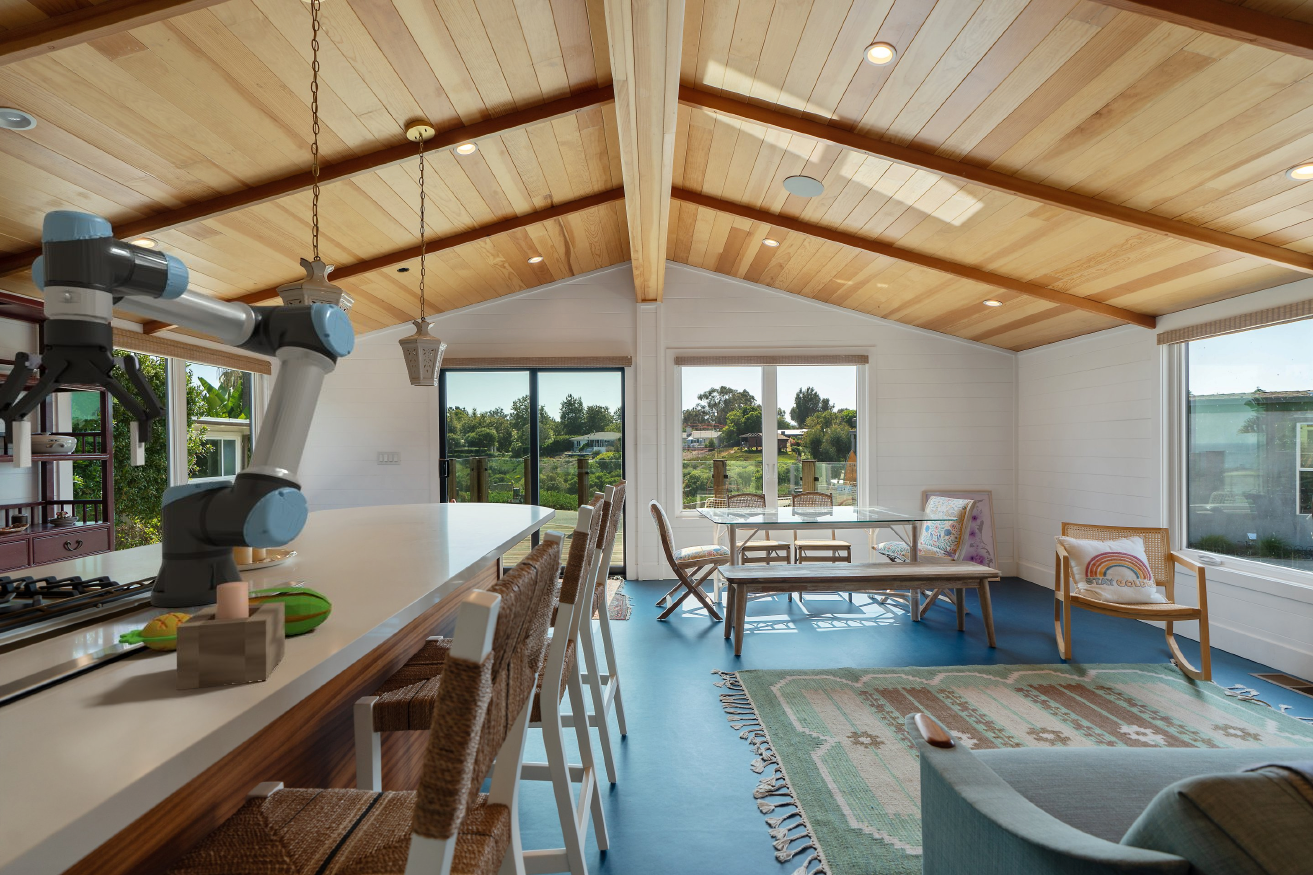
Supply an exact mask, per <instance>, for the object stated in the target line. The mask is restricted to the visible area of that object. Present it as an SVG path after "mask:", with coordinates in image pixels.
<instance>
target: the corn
mask: <svg viewBox="0 0 1313 875" xmlns="http://www.w3.org/2000/svg"><path fill="white" fill-rule="evenodd" d="M265 593H266V594H267V593H280V594H267V595H258V596H252V597H248V604H261V603H276V602H285V636H286V635H288V636H296V635H295V634H298V635H302V634H301V633H303V634H304V633H306V632H307V633H308V632H309V631H311V630H314V629H315V628H318V627H319V626H320V625H322V624H323V623H324V622H325V621H326V620H328V618H329V616H330V615H331V612H332V607H333V606H332V603H331V602H330V600H329V599H328V598H327V597H326V596H325V595H323V594H321V593H319V592H317V591H315V590H313V589H312V588H308V587H297V586H286V587H275V588H265V589H259V590H252V591H248V595H250V594H265ZM213 607H217V605H214V606H213Z"/></svg>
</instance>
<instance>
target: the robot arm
mask: <svg viewBox="0 0 1313 875" xmlns="http://www.w3.org/2000/svg"><path fill="white" fill-rule="evenodd" d="M41 234H42V237H41V240H40V242H41V243H42V246H41V247H42V249H41V250H42V254H41V255H39V256H38V257H36V259H34V261H33V263H32V264H31V268H30V270H31V271H30V272H31V273H30V274H31V278H32V281H33V283H34V284H35V286H36V287H37V289H38V290H39V291H41V293H43V315H45V317H48V319H46V320H45V321H44V322H43V332H44V333H43V334H44V335H43V337H44V338H43V342H44V348H45V349H44V352H43V354H34V353H30V352H25V351H18V352H16V353H15V355H14V363H13V368H12V369H11V370H10V372H9V374H8V376H7V377H6V378H5V380H4V382H3V384H2V385H1V387H0V420H2V421H3V422H4V441H5V442H6V443H5V444H7V445H12V456H13V458H12V461H13V466H12V468H13V469H16V468H17V469H19V468H21V469H22V468H31V467H32V437H31V436H32V435H31V434H32V433H31V428H32V427H31V421H26V419H25V418H26V417H27V416H28V415H29V414H30V413H31V412H33V410H34V409H36V408H37V407H38V406H39V405H40V404H41V403H42V402H43V401H44V400H45V399H46V398H47V397H49V396H50V395H51V394H52V393H53V392H54V391H55V390H56V389H58V388H60V387H61V386H62V385H67V386H69V385H70V386H79V385H87V386H97V385H99V386H100V387H102V388H104V389H105V390H106V391H107V392H108V393H109V395H111V396H112V397H113V398H114V399H115V400H116V401H118V403H120V404H121V405H122V406H123V407H124V409H126V411H128V412H129V413H130V414H131V415H132V416H133V417H134V418H135V420H136V421H129V423H130V425H129V428H130V430H129V431H130V466H134V467H135V466H142V465H143V466H145V463H146V462H145V443H146V444H147V443H149V444H150V443H151V441H152V438H153V437H152V435H153V432H152V424H153V421H154V420H157V419H160V418H164V417H166V416H167V414H168V413H167V411H166V409H165V407H164V406H163V404H162V403H161V401H160V399H159V397H158V396H157V394H156V393H155V391H154V389H153V388H152V385H151V384H150V383H149V381H148V380H147V378H146V377H145V374H144V373H143V371H142V366H141V359H140V357H138V356H135V355H131V354H125V355H124V356H117V357H116V356H115V355H114V354H115V353H114V327H113V326H112V325H111V324H109V323H111V322H112V321H113V320H114V313H113V312H114V311H113V310H114V309H116V310H120V311H123V312H126V313H127V312H128V313H130V314H134V315H138V316H140V317H144V318H147V319H148V318H149V319H150V320H151V319H152V320H155V321H159V322H162V323H165V324H170V325H172V326H177V327H180V328H183V329H187V330H191V331H193V332H199V333H201V334H205V335H209V336H212V337H216V338H217V339H218V340H219V341H220V342H221V343H222V344H224V345H227V346H230V347H234V348H238V349H241V350H243V351H244V350H245V351H248V352H252V353H254V354H259V355H263V356H267V357H271V358H273V357H274V358H276V359H278V361H279V362H280V366H279V369H278V371H277V372H278V373H277V376H276V379H275V380H274V383H273V384H274V385H273V388H272V390H271V394H270V398H269V400H268V404H267V407H266V410H265V414H264V415H263V416H264V417H263V419H262V422H261V425H260V428H259V432H258V435H257V437H256V438H257V439H256V441H255V445H254V448H253V451H252V453H251V458H250V460H249V463H248V467H246V468H245V469H243V470H241V471H238V472H237V473H236V476H235V478H234V481H232V480H229V479H226V480H224V479H223V480H216V481H214V480H213V481H205V482H196V483H186V484H180V485H174V486H169V487H167V488H166V489H165V490H164V491H163V492H162V499H161V500H162V501H161V506H160V515H161V516H160V519H161V521H160V523H161V524H160V525H161V527H160V529H161V557H162V558H161V566H160V567H159V570H158V572H157V575H156V578H155V580H154V583H153V586H152V588H151V590H150V591H151V592H150V604H151V605H152V606H154V607H160V608H183V607H193V606H194V607H195V606H202V605H208V604H215V603H217V586H218V585H221V584H225V583H231V582H244V580H243V578H242V576H241V573H240V571H239V568H238V565H237V563H236V560H235V557H234V548H253V549H259V550H262V549H269V548H273V549H274V548H280V547H284V546H287V545H288V544H289V543H290V542H292V541H294V540H295V539H296V538H297V537H298V536H299V535H300V533H301V532H302V531H303V529H304V527H305V525H306V522H307V519H308V516H309V508H308V506H307V504H308V500H307V498H306V496H305V495H304V494H303V492H302V491H301V490H302V484H301V482H300V481H299V480H298V478H297V474H298V471H299V468H300V467H299V466H300V463H301V459H302V456H303V452H304V450H305V447H306V446H305V445H306V442H307V439H308V435H309V431H310V429H311V425H312V422H313V418H314V416H315V415H314V414H315V410H316V407H317V405H318V400H319V396H320V393H321V390H322V386H323V382H324V379H325V377H326V375H329V374H330V373H333V372H334V371H335V368H336V365H337V362H338V358H343V357H344V358H345V357H347V356H348V355H350V354H351V353H352V352H353V350H354V346H355V332H354V328H353V325H352V322H351V320H350V318H349V316H348V315H347V313H346V312H345V311H344V310H343V309H342V308H340V307H339V306H338V305H335V304H332V303H320V302H314V303H313V304H312V303H311V304H308V303H307V304H284V305H283V304H281V305H279V304H277V305H255V304H254V305H253V304H247V303H245V302H242V301H230V302H227V301H224V300H221V299H219V298H216V297H213V296H210V295H207V294H204V293H201V292H198V291H195V290H194V289H193V290H192V289H191V288H188V287H189V285H190V284H189V282H190V277H189V276H190V274H189V270H188V267H187V265H186V264H185V263H184V262H183V261H182V260H181V259H179V258H178V257H176V256H174V255H170V254H168V253H166V252H163V251H161V250H156V249H153V248H152V249H151V248H149V247H146V246H145V247H144V246H141V245H138V244H134V243H131V242H126V241H124V240H120V239H118V238H116V237H115V238H114V237H113V236H114V233H113V232H112V224H111V223H110V222H109V221H108V220H107V219H104V218H103V217H101V216H98V215H96V214H91V213H87V212H82V211H77V210H65V209H64V210H63V209H60V210H59V209H58V210H52V211H50V212H47V213H46V214H45V215H44V217H43V223H42V233H41ZM41 364H42V365H43V366H44V367H45V368H46V369H47V372H46V373H44V374H43V375H42V376H41V377H40V378H39V380H38V382H37V383H36V384H34V386H32V388H30V389H29V390H28V391H27V392H26V393H25V394H24V395H23V396H22V397H21V398H20V399H18V398H19V396H20V394H21V393H22V391H24V388H25V387H26V385H27V384H28V382H29V380H30V379H31V377H32V375H33V374H34V371H35V369H39V367H40V365H41ZM117 366H119V368H120V369H121V370H122V371H125V374H126V376H127V377H128V378H129V380H130V382H131V384H132V385H133V387H134V388H135V390H136V392H137V394H138V395H139V397H140V398H141V400H142V402H143V403H144V405H145V407H146V408H147V409H146V408H145V407H144V406H143V405H142V404H141V403H140V402H139V401H138V400H137V399H136V398H134V397H133V395H131V394H130V393H129V392H128V391H127V389H125V388H124V387H123V386H122V384H120V382H119V381H118V380H117V379H116V378H115V377H114V376H113V375H112V374H111V373H112V371H113V370H114V369H115V368H116V367H117ZM17 400H18V401H17Z"/></svg>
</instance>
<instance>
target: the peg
mask: <svg viewBox="0 0 1313 875" xmlns="http://www.w3.org/2000/svg"><path fill="white" fill-rule="evenodd" d="M248 592H249V582H248V581H243V582H231V583H225V584H221V585H218V586H217V602H216V606H217V620H218V619H231V618H244V617H249V609H248V598H249V594H248Z"/></svg>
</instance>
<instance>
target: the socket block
mask: <svg viewBox="0 0 1313 875" xmlns="http://www.w3.org/2000/svg"><path fill="white" fill-rule="evenodd" d="M248 609H249V617H244V618H231V619H218V620H217V607H214V606H208V607H207V606H206V607H203V608H202V609H200V611H198V612H196V613H195V614H194V615H191V616H192V617H191V618H189V619H188V620H186V621H185V622H184V623H182V624H181V625H179V626H178V627H177V649H176V691H179V690H189V689H198V688H200V689H201V688H209V687H218V685H220V686H225V685H224V684H230V685H233V684H232V683H240V684H244V683H243V682H249V681H258V680H266V679H267V678H268V677H269V678H270V676H271V675H272V674H273V672H274V671H275V670H274V668H275V667H276V666H277V664H278V663H279V662H280V660H281V659H282V658H283V657H284V655H285V656H286V652H285V650H286V649H285V648H286V646H285V645H286V642H285V641H286V640H285V639H286V637H285V602H276V603H261V604H248ZM284 658H285V657H284ZM284 658H283V659H284ZM283 659H282V660H283ZM280 663H281V662H280ZM280 663H279V664H280ZM279 664H278V665H279ZM277 667H278V666H277ZM277 667H276V668H277ZM276 668H275V669H276ZM273 670H274V671H273ZM272 671H273V672H272ZM271 673H272V674H271ZM270 674H271V675H270ZM269 675H270V676H269ZM269 678H268V679H269ZM268 679H267V680H268ZM267 680H266V681H267ZM249 683H250V682H249Z"/></svg>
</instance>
